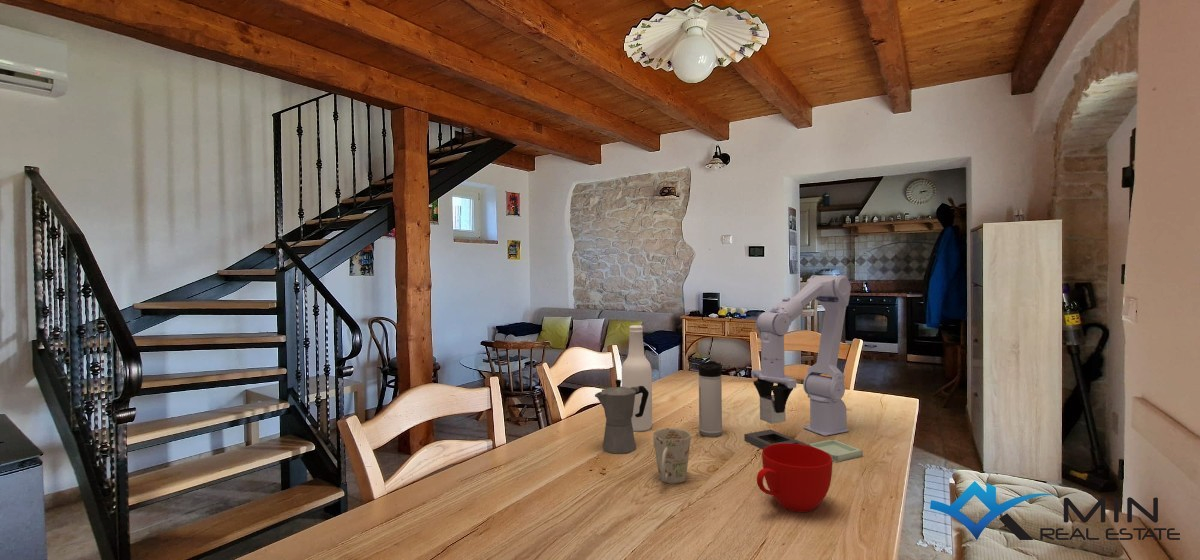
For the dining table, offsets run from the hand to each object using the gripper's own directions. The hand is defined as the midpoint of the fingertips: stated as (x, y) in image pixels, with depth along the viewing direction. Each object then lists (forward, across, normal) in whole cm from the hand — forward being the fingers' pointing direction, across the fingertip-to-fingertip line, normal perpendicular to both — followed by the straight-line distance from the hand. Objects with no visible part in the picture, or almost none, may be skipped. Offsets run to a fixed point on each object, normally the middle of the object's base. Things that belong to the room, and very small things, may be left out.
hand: (773, 409), depth 135 cm
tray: (+9, +11, +9) cm, 17 cm away
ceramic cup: (+10, +28, -21) cm, 36 cm away
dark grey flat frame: (+9, +4, 0) cm, 10 cm away
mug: (+10, +8, -36) cm, 38 cm away
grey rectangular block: (+3, 0, 0) cm, 3 cm away
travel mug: (+10, -15, -9) cm, 20 cm away
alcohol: (+10, -29, -25) cm, 40 cm away
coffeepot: (+10, -16, -36) cm, 41 cm away
